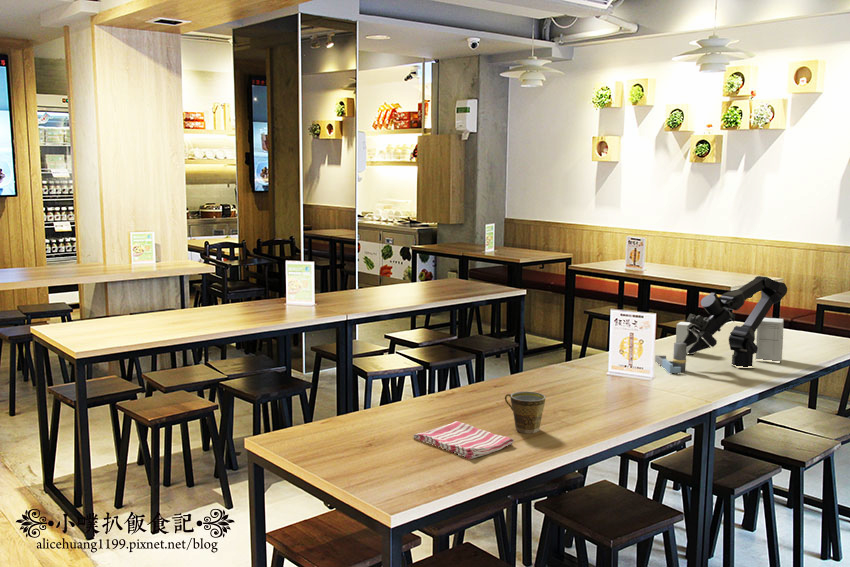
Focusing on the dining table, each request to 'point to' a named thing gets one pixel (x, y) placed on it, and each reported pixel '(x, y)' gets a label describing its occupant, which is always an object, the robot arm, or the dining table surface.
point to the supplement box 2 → (770, 339)
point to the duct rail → (667, 364)
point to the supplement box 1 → (682, 333)
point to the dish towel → (464, 440)
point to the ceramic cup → (527, 410)
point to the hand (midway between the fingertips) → (685, 350)
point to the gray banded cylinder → (679, 355)
